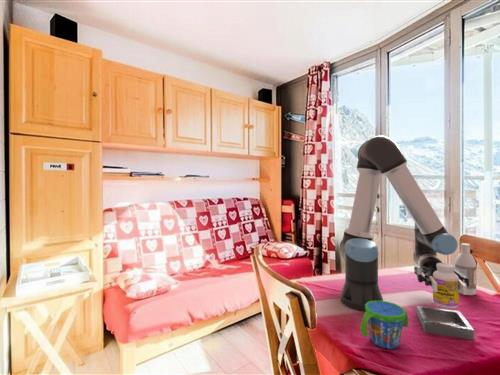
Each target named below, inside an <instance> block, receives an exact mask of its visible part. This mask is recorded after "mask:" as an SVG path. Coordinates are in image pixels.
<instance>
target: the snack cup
mask: <svg viewBox="0 0 500 375" xmlns="http://www.w3.org/2000/svg"><path fill="white" fill-rule="evenodd" d="M361 318H362V319H361V323H360V327H359V328H360V332H361V334H362V335H363V337H365V338H368V337H370V340H371V341H372V343H373V344H374V345H375V346H378V347H380V348H383V349H386V348H387V350H392V349H393V350H394V349H396V348H398V347H400V343H401V338H402V332H403V327H404V328H408V327H409V319H408V318H409V317H408V313H407V311H406V309H404V308H403V307H402V306H400V305H398V304H397V303H393V302H391V301H384V300H383V301H370V302H367V303H366V304H365V311H364V314H363V316H362V317H361ZM368 330H369V332H368Z"/></svg>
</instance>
